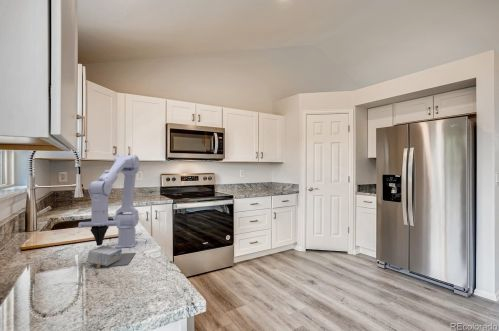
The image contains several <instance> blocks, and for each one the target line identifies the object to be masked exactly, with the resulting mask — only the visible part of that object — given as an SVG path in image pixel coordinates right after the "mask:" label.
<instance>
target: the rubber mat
mask: <svg viewBox="0 0 499 331" xmlns="http://www.w3.org/2000/svg"><path fill="white" fill-rule="evenodd" d="M136 254H137V253H136V252H126V253H121V257H120V260H118V261H116V262H114V263H112V264H110V265H108V266H105V265H102V267H101V268H110V267H123V266H129V264H130V262H131V261H132V259H133V258H134V256H135V255H136Z"/></svg>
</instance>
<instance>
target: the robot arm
mask: <svg viewBox="0 0 499 331" xmlns="http://www.w3.org/2000/svg"><path fill="white" fill-rule="evenodd" d="M139 171H140V159H139V157H138V155H136V154H134V155H119V154H117V155H116V156H115V157H114V159H113V164H112V165H111V167H110V169H105V170H104V172H103V173H102V174H101V175H100V176H99V177H98V179H97V180H94V181H92V182H90V183H89V185H88V188H87V191H88V194H89V198H90V200H91V221H83V222H82V221H80V222H79V223H78V225H77V226H78V227H77V228H78V229H82V228H91V229H89V230H90V232H91V234H92V235H93V237H94V240H95V242H96V246H98V247H101V246H103V243H104V239H105V236H106V233H107V231H108V229H109V227H116V229H117V231H118V233H117V235H118V236H117V245H115V247H114V248H118V249H123V248H134V247H135V245H136V244H137V243H138V240H136V227H137V225H138V224H139V219H140V217H139V211H138V209H136V208H135V207H134V196H135V186H136V174H137V173H139ZM119 173H121V174H123V175H124V179H123V189H122V201H121V207H120V208H118V209H117V210H116V211H115V216H114V218H113V220H109V195H110V194H111V193H112V192H111V191H112V189H113V186H114V183H115V182H116V181H117V180H118V178H119V177H118V175H119ZM136 242H137V243H136Z"/></svg>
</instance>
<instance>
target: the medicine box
mask: <svg viewBox="0 0 499 331" xmlns="http://www.w3.org/2000/svg"><path fill="white" fill-rule="evenodd" d="M122 249H123V248H115V247H112V246H107V245H101V246H98V247H96V248H94V249H93V248H92V249H90V250H89V251H88V254H87V260H86V262H88V263H91V264H96V265H98V264H100V265H102V266H103V265H105V266H108V265H110V264H112V263H114V262H116V261H118V260H120V257H121V254H122Z"/></svg>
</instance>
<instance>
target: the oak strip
mask: <svg viewBox="0 0 499 331" xmlns="http://www.w3.org/2000/svg"><path fill="white" fill-rule="evenodd" d="M102 266H103V265H100V264H96V270H97V269H98V270H99V269H101V268H103V267H102Z"/></svg>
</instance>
